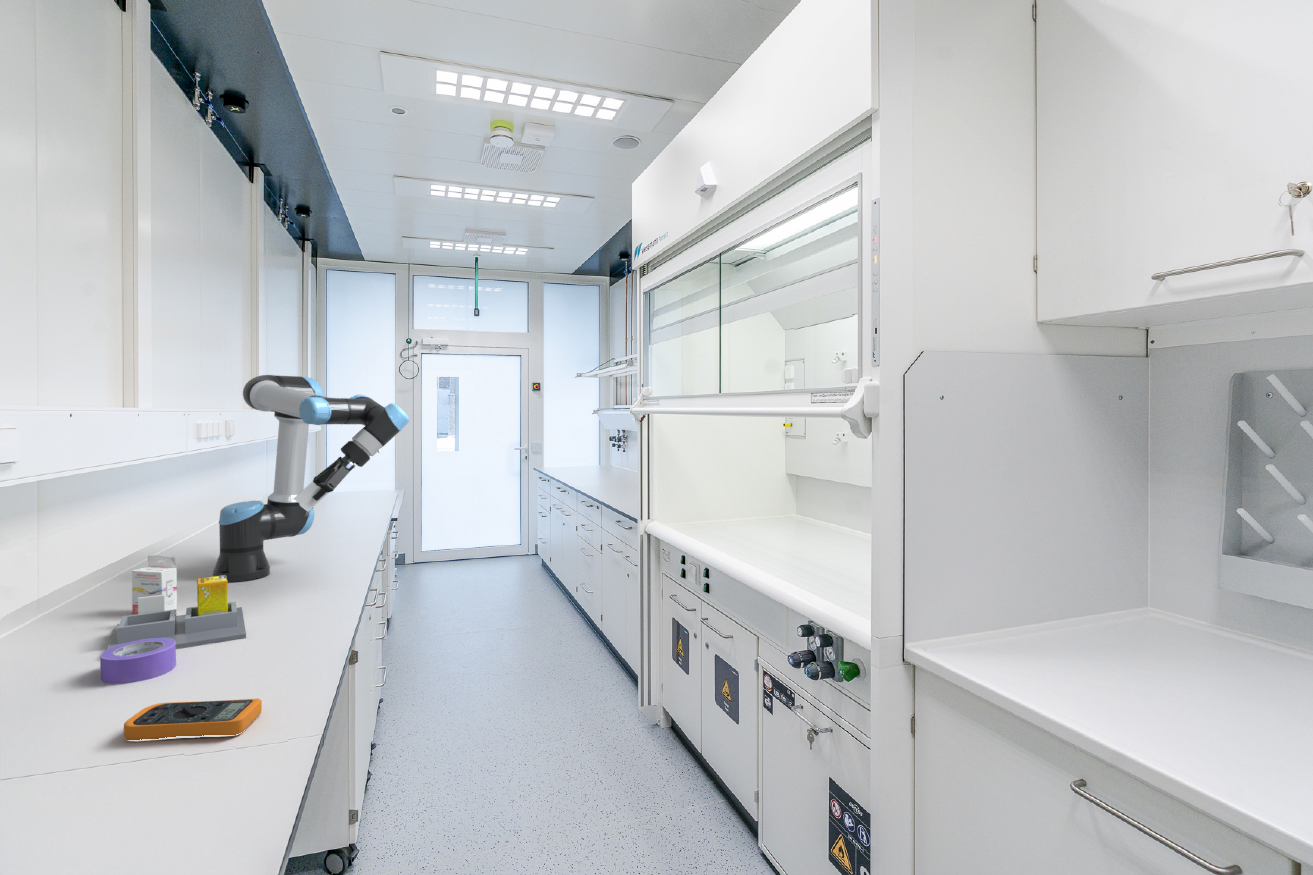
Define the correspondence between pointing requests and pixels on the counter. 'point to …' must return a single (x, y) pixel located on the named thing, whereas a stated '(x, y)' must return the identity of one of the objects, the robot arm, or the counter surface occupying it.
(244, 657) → the counter surface
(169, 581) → the ink cartridge box
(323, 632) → the counter surface
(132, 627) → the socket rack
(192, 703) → the multimeter
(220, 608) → the supplement box
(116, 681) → the tape roll
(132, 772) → the counter surface
